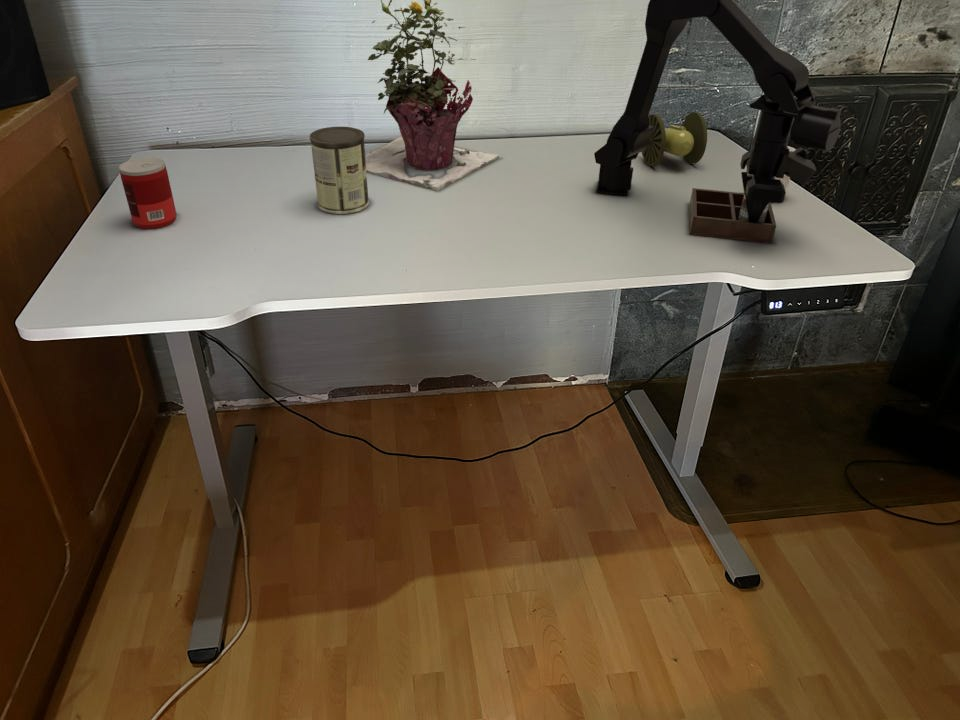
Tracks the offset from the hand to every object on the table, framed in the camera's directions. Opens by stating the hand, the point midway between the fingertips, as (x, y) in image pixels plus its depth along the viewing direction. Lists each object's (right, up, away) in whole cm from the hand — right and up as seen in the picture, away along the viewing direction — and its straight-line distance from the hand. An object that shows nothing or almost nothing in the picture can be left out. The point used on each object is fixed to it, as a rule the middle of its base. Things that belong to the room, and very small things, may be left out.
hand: (751, 219), depth 141 cm
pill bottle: (0, -1, +1) cm, 2 cm away
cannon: (-9, +22, +37) cm, 44 cm away
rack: (-3, 0, +5) cm, 6 cm away
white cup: (+9, +8, +17) cm, 21 cm away
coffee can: (-79, +5, +9) cm, 79 cm away
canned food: (-113, 0, 0) cm, 113 cm away
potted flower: (-65, +19, +30) cm, 74 cm away
